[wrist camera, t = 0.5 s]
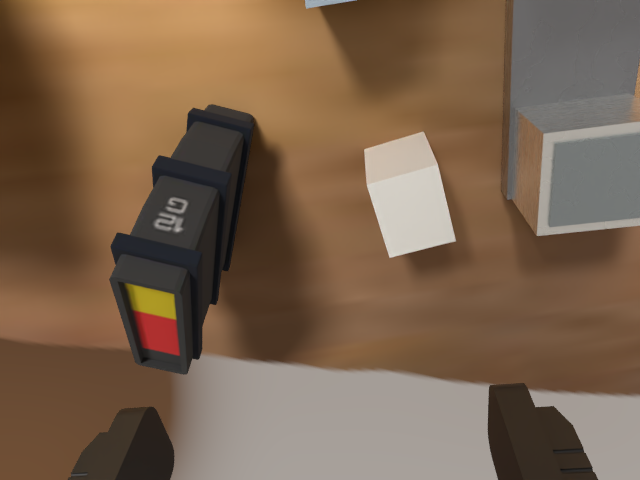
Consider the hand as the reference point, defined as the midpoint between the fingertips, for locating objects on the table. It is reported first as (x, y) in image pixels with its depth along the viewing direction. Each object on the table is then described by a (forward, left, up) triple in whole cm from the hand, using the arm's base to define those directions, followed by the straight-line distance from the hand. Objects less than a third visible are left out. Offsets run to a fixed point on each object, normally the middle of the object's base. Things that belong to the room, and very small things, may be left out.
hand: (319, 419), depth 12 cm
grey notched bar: (-4, +14, -24) cm, 28 cm away
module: (+4, +4, -24) cm, 24 cm away
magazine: (+4, -9, -24) cm, 26 cm away
